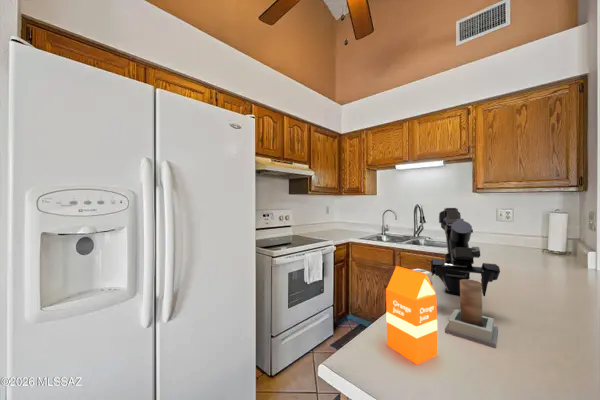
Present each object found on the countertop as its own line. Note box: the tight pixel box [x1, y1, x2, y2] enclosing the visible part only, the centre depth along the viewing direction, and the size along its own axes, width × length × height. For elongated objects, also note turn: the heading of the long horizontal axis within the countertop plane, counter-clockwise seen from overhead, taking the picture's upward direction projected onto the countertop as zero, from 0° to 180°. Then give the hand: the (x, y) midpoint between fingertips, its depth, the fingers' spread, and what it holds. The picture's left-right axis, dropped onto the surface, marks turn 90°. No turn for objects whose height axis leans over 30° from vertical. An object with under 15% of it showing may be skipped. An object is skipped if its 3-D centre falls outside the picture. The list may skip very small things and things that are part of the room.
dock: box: [444, 308, 499, 349], centre depth 67 cm, size 11×11×4 cm
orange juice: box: [385, 265, 439, 366], centre depth 59 cm, size 8×9×20 cm
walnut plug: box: [459, 279, 483, 327], centre depth 67 cm, size 5×5×13 cm
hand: (466, 293), depth 74 cm, fingers open, 9 cm apart
